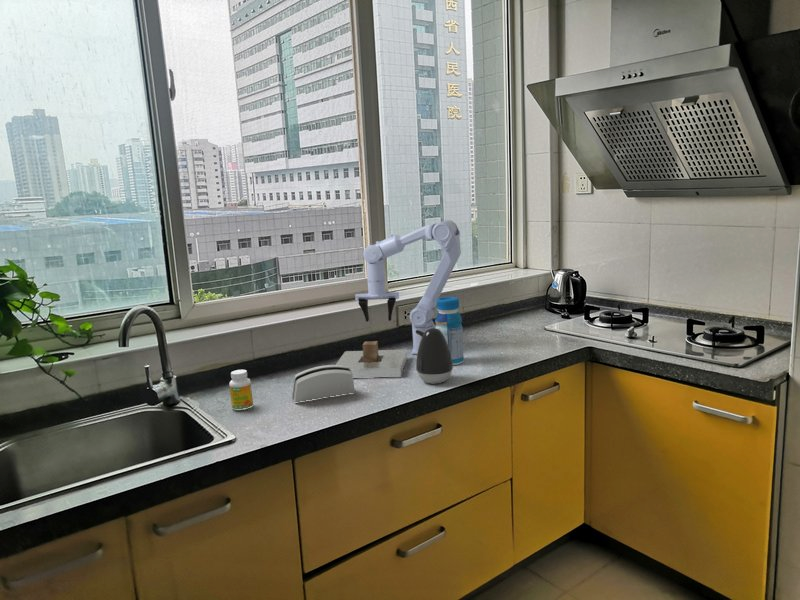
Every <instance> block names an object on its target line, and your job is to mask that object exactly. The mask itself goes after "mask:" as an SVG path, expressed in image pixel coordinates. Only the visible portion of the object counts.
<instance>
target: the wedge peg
mask: <svg viewBox="0 0 800 600" xmlns="http://www.w3.org/2000/svg"><path fill="white" fill-rule="evenodd" d="M378 350H379V344H378V340H374V341H373V340H371V341H364V342H363V344H362V351H363V358H364V362H379V356H378Z"/></svg>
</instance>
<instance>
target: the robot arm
mask: <svg viewBox="0 0 800 600" xmlns="http://www.w3.org/2000/svg"><path fill="white" fill-rule="evenodd" d="M460 236H461V232H460V230H459V227H458V225H457V223H456V222H454V221H453V220H450V219H447V220H446V219H445V220H443V221H439V222H436V223H432V224H428V225H424V226H421V227H420V228H417V229H416V230H413V231H411V232H409V233H407V234H404V235H403V236H400V235H397V234H389V235H388V237H387V238H385V239H383V240H377V241H375V243H374V244H369V245H368V246H367V247H365V248H364V249H363V253H362V256H363V258H364V260H365V261H366V276H367V277H366V278H367V279H366V280H367V292H366V293H365V292H364V293H356V294H355V295H354V297H355V301H357V302H358V305H359V307H360V308H361V310H362V312H363V315H364V317H365V318H364V319H365V322H369V321H370V317H369V304H368V303H369V300H370V301H371V300H374V301H375V300H386V303H387V311H388V321H389V322H390V321H392V315H393V309H394V306H395V304H396V302H397V301H396V300H399V299H400V293H399V291H398V292H396V291H395V292H391V291H389V292H388V291H386V281H385V266H384V259H387V258H390V257H392V256H394V255H396V254H399V253H402V252H403V251H404V249H405V247H406V246H407V245H411V244H413V243H416V242H418V241H420V240H423V239H430V240H433V239H434V240H435V241H436V242H437V243H438V244H439V245H440V247H441V249H442V253H443V255H442V257H441V259H440V261H439V263H438V265H437V266H436V269H435V272H434V273H433V275H432V277H431V279H430V281H429V284H428V285H427V288H426V289H425V291H424V294H423V296H422V297H421V298H420V300H419V302H418V303H417V305H416V306H415V307H414V308H413V309H411V311H410V312H409V321H410V323H411V328H412V329H411V331H412V344H413V345H412V349H411V355H417V352H418V348H419V344H420V341H421V338H422V337H421V336H420V335H418V334H417V333H416V330H419V331H422V332H424V333H425V331H426V330H428V329H430V328H436V324H435V321H433V318H434V316H435V313H436V308H437V299H438V298H440V296H441V294H442V292H443V290H444V288H445V286H446V284H447V282H448V280H449V278H450V276H451V274H452V272H453V270H454V268H455V266H456V265H457V262H458V260H459V258H460V256H461V253H462V249H461V239H460Z"/></svg>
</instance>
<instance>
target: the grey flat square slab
mask: <svg viewBox="0 0 800 600" xmlns="http://www.w3.org/2000/svg"><path fill="white" fill-rule="evenodd" d="M378 356H379V362H364V358H363V350H353V351H352V350H346V351H344V352H343V354H342V355H341V356H340V357H339V359H338V360H337V362H336V363H335V365H342V366H347V367H349V368H350V370H351V372H352V375H353V378H368V379H375V378H374V377H401V378H402V376H401V375H403V373H402V371H403V372H404V370H403V368H404V369H405V367H404V366H406V364H405V363H407V361H406V360H408V349H381V350H380V349H378Z"/></svg>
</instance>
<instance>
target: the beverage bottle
mask: <svg viewBox="0 0 800 600" xmlns="http://www.w3.org/2000/svg"><path fill="white" fill-rule="evenodd" d="M436 309H437V311H438V313H436V317H435V320H434V324H435V325H436V329H438V330H440V331H441V332H442V334H443V335H444V337H445V339H446V341H447V344H448V346H449V349H450V353H451V357H452V362H453V366H458V365H461V364H462V363H464V361H465V359H464V357H465V356H464V333H463V332H464V327H463V325H462V323H463V318H462V316H461V314H460V312H459V311H458V310H459V309H460V300H459V297H455V296H445V297H439V298H438V299H437V305H436Z"/></svg>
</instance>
